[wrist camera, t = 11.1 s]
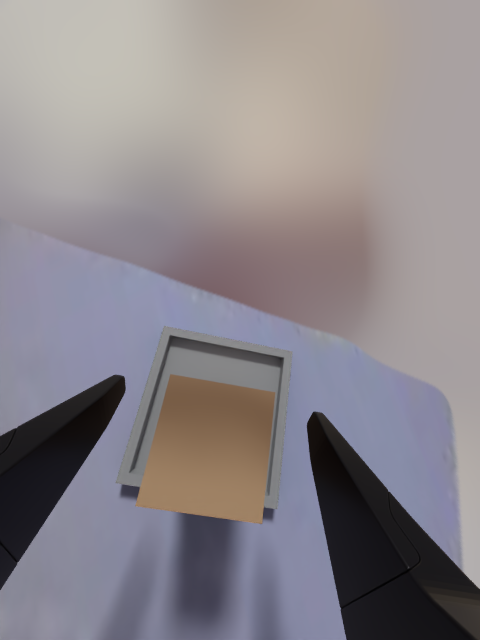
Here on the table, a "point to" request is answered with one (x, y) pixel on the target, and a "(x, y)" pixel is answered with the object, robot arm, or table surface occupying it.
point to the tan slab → (210, 451)
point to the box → (218, 366)
